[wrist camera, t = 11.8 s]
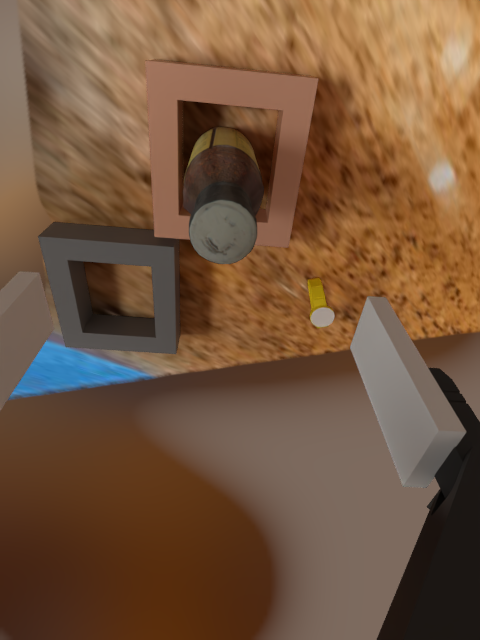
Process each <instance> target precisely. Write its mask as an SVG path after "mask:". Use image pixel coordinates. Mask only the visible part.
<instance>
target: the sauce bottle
mask: <svg viewBox="0 0 480 640" xmlns="http://www.w3.org/2000/svg"><path fill="white" fill-rule="evenodd" d="M263 194H264V186H263V183H262V177H261V173H260V170H259V167H258V164H257V161H256V158H255V154H254V151H253V148H252V146H251V143H250V142H249V141H248V139H247V138H246V137H245V136H244V135H243V134H241V133H240V132H239V131H238V130H236V129H231V128H227V127H214V128H212V129H210V130H208V131H207V132H206V133H204V134H203V135H202V136H201V137H200V138H199V139H198V140H197V141H196V143H195V145H194V148H193V151H192V154H191V157H190V160H189V163H188V167H187V170H186V173H185V177H184V187H183V207H184V209H186V210H187V211H188V212H189V213H190V214H191V216H190V220H189V237H190V241H191V244H192V245H193V247H194V249H195V251H196V252H197V253H198V254H199V255H200V256H202V257H204V258H205V259H207V260H209V261H211V262H214V263H218V264H231V263H235V262H237V261H239V260H241V259H243V258H244V257H245V256H246V255H247V254H249V253H250V252H251V250H252V249H253V247H254V245H255V242H256V239H257V221H256V217H255V216H256V215H257V213H258V210H259V208H260V205H261V202H262V198H263Z"/></svg>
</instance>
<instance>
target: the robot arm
mask: <svg viewBox="0 0 480 640" xmlns="http://www.w3.org/2000/svg"><path fill="white" fill-rule="evenodd" d="M53 330H54V326H53V322H52V318H51V315H50V311H49V307H48V303H47V299H46V296H45V292H44V288H43V284H42V280H41V277H40V273H36V272H22V271H19V272H18V273H17V274H16V275H15V276H14V277H13V278H12V279H11V280H10V282H8V283H7V284H6V285H5V286H4V287H3V288H2V289H1V290H0V410H1V409H2V407H3V406H4V404H5V403H6V401H7V400H8V398H9V397H10V395H11V393H12V392H13V390H14V389H15V387H16V386H17V384H18V383H19V381H20V380H21V378H22V377H23V375H24V374H25V372H26V371H27V369H28V368H29V366H30V365H31V363H32V362H33V360H34V358H35V357H36V355H37V354H38V352H39V351H40V349H41V348H42V346H43V345H44V343H45V342H46V340H47V339H48V337H49V336H50V334H51V333H52V331H53ZM350 349H351V351H352V353H353V356H354V359H355V362H356V364H357V367H358V369H359V372H360V375H361V377H362V380H363V382H364V385H365V388H366V391H367V393H368V396H369V398H370V401H371V404H372V406H373V409H374V412H375V414H376V417H377V419H378V422H379V425H380V427H381V430H382V433H383V435H384V438H385V441H386V443H387V446H388V449H389V451H390V454H391V456H392V459H393V462H394V464H395V467H396V470H397V472H398V475H399V477H400V480H401V482H402V485H403V487H423V488H427V487H428V485H429V484H430V483H431V481H432V480H433V478H434V477H435V478H436V480H437V482H438V484H439V487H440V490H439V491H438V493H437V494H436V495H435V497H434V498H433V499H432V501H431V502H430V503H429V505H428V506H427V508H429V509H430V511H429V513H428V515H427V518H426V521H425V523H424V525H423V528H422V530H421V533H420V535H419V538H418V540H417V542H416V545H415V547H414V550H413V552H412V555H411V557H410V560H409V562H408V564H407V567H406V569H405V572H404V574H403V577H402V579H401V581H400V584H399V586H398V589H397V591H396V594H395V596H394V599H393V601H392V603H391V606H390V608H389V611H388V614H387V616H386V618H385V621H384V623H383V625H382V628H381V630H380V633H379V635H378V638H377V640H480V422H479V420H478V419H477V417H476V416H475V414H474V412H473V411H472V409H471V408H470V406H469V405H468V404H466V400H465V399H464V397H463V396H462V394H460V393H459V392H460V391H459V390H458V388H457V387H456V385H455V383H454V382H453V381H452V379H451V378H450V377H449V376H447V375H446V374H445V373H444V372H443V371H442V370H441V369H438V368H428V367H427V365H426V364H425V362H424V360H423V359H422V357H421V355H420V354H419V352H418V350H417V349H416V347H415V345H414V344H413V342H412V340H411V339H410V337H409V335H408V334H407V332H406V330H405V329H404V327H403V325H402V324H401V322H400V320H399V319H398V317H397V315H396V314H395V312H394V310H393V309H392V307H391V305H390V304H389V302H388V300H387V299H386V298H385V297H371V296H368V297H367V299H366V302H365V305H364V308H363V311H362V314H361V317H360V320H359V323H358V326H357V329H356V331H355V334H354V337H353V340H352V343H351V346H350Z"/></svg>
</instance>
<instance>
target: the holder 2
mask: <svg viewBox="0 0 480 640" xmlns="http://www.w3.org/2000/svg"><path fill="white" fill-rule="evenodd" d="M145 64H146V84H147V103H148V122H149V141H150V160H151V179H152V198H153V217H154V236H155V237H163V238H175V239H187V240H190V237H189V220H190V216H191V214H190V213H189V212H188V211H187V210H186V209H184V207H183V100H184V101H194V102H204V103H214V104H224V105H234V106H244V107H254V108H264V109H274V110H279V111H278V119H277V127H276V134H275V142H274V150H273V157H272V165H271V173H270V180H269V188H268V196H267V203H266V209H259V210H258V213H257V215H256V216H255V217H256V221H257V239H256V242H255V245H262V246H274V247H286V248H288V247H289V241H290V236H291V230H292V225H293V219H294V213H295V208H296V202H297V196H298V191H299V185H300V180H301V174H302V168H303V163H304V157H305V152H306V146H307V140H308V135H309V129H310V124H311V118H312V112H313V107H314V101H315V95H316V90H317V84H318V78H315V77H313V76H307V75H298V74H288V73H279V72H269V71H260V70H250V69H241V68H231V67H222V66H213V65H203V64H194V63H184V62H175V61H165V60H156V59H154V60H145Z"/></svg>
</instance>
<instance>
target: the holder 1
mask: <svg viewBox="0 0 480 640" xmlns="http://www.w3.org/2000/svg"><path fill="white" fill-rule="evenodd" d="M38 238H39V242H40V246H41V250H42V254H43V258H44V262H45V266H46V270H47V274H48V278H49V282H50V286H51V290H52V294H53V298H54V302H55V306H56V310H57V314H58V318H59V322H60V326H61V330H62V334H63V338H64V342H65V346H66V347H75V348H90V349H106V350H121V351H137V352H152V353H168V354H176V353H177V348H178V343H179V338H180V264H179V239H175V238H163V237H155V236H154V230H147V229H134V228H122V227H110V226H98V225H85V224H73V223H61V222H53V223H52V224H51V225H50V226H49V227H48V228H47V229H46V230H45V231H43V232H42V233H41V234H40V235H39V236H38ZM83 261H86V262H99V263H112V264H125V265H138V266H151V267H152V283H153V300H154V316H155V318H141V317H127V316H112V315H98V314H93V312H92V307H91V301H90V296H89V290H88V285H87V279H86V274H85V268H84V263H83Z"/></svg>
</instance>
